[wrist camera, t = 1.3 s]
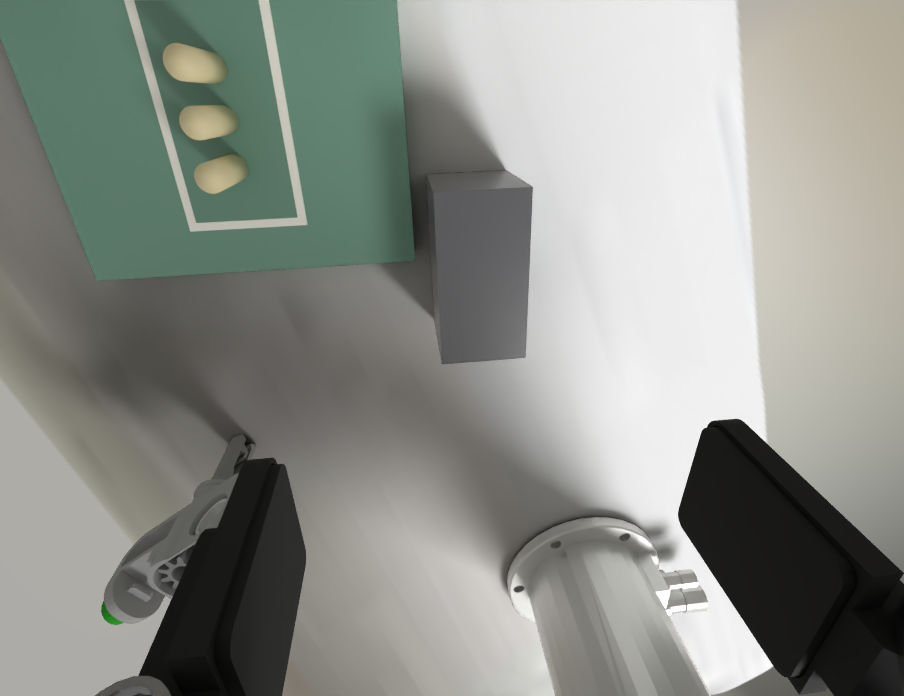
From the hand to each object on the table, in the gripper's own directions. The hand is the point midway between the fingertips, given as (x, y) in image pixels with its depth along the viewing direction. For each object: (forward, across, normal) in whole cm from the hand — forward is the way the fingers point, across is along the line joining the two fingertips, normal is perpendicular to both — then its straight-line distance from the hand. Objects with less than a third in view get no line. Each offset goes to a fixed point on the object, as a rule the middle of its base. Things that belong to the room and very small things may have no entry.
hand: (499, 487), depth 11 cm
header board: (+18, +9, -7) cm, 22 cm away
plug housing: (+18, -2, 0) cm, 18 cm away
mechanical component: (+18, +13, +12) cm, 25 cm away
